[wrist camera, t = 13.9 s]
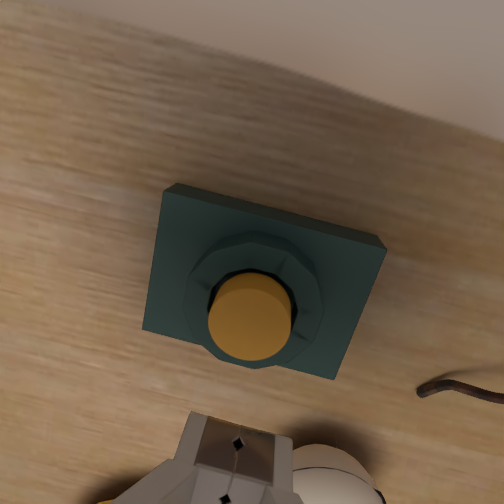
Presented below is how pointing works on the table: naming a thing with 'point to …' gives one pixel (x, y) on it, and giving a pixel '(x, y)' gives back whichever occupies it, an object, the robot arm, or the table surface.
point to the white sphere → (332, 477)
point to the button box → (263, 262)
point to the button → (250, 317)
